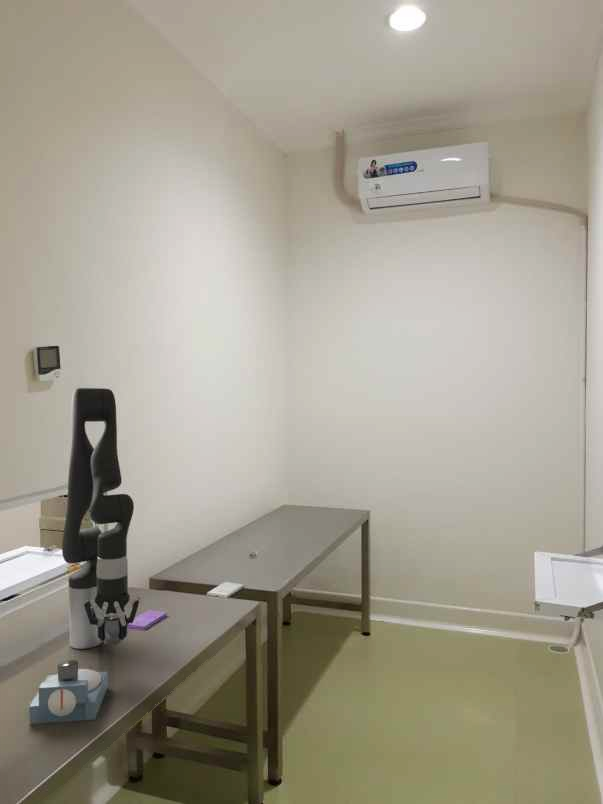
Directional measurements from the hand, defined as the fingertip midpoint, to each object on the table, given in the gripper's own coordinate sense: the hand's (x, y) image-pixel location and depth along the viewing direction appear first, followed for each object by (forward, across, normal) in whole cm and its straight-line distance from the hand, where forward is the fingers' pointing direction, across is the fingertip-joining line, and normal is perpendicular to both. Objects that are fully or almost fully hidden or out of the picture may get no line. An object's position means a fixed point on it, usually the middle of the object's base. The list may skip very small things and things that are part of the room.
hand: (112, 638), depth 159 cm
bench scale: (+10, +8, +12) cm, 17 cm away
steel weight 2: (+1, 0, 0) cm, 1 cm away
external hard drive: (+12, -28, -64) cm, 71 cm away
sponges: (+12, -4, -38) cm, 40 cm away
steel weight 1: (+6, +8, +14) cm, 17 cm away
